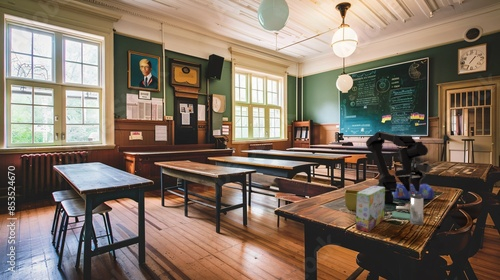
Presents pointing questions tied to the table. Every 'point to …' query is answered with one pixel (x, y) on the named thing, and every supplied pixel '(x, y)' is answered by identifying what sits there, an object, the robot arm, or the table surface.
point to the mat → (401, 215)
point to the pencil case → (413, 192)
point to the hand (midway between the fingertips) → (413, 191)
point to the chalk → (402, 207)
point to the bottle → (416, 209)
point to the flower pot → (351, 199)
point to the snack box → (370, 208)
